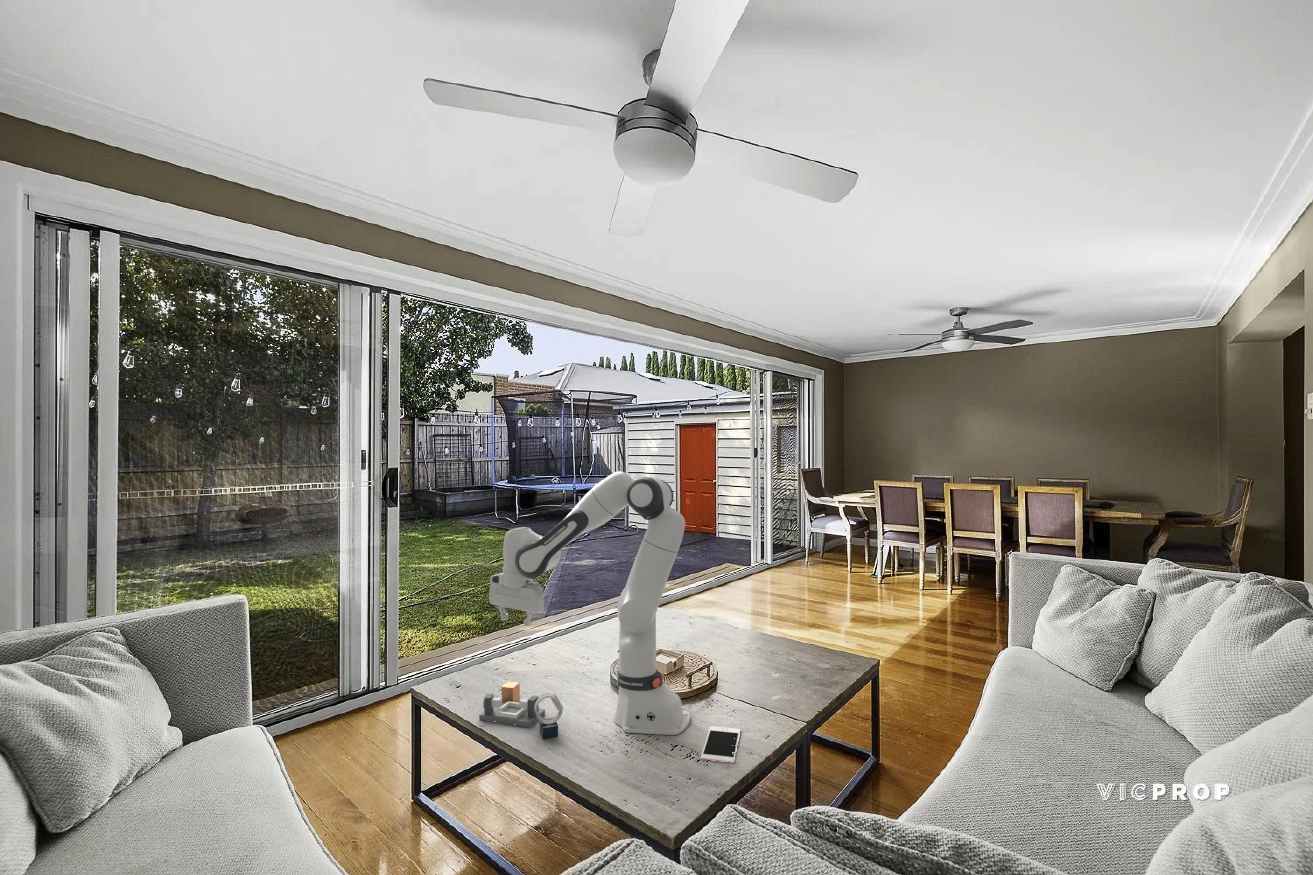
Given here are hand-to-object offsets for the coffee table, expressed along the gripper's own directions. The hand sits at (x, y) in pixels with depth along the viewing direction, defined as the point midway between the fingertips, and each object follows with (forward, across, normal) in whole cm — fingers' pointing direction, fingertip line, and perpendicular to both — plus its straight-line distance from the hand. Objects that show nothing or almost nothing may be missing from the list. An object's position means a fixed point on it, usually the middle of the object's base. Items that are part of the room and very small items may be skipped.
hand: (515, 622), depth 193 cm
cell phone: (+24, -68, -8) cm, 72 cm away
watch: (+25, -23, +10) cm, 35 cm away
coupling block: (+26, +1, +1) cm, 26 cm away
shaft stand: (+25, -6, +7) cm, 27 cm away
